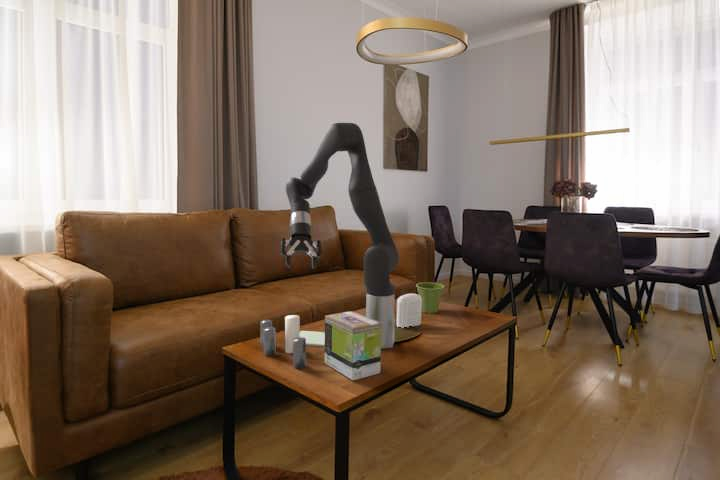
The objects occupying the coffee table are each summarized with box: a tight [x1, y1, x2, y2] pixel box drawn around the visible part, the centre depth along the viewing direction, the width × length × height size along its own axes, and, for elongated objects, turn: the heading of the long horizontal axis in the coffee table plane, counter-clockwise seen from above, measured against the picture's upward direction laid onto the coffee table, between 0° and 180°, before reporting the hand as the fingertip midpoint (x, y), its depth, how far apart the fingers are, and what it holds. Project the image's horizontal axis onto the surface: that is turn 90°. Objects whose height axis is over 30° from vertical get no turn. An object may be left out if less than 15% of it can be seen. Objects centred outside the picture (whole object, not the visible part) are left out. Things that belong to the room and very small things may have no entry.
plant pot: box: [415, 282, 445, 314], centre depth 184 cm, size 12×12×11 cm
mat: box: [300, 330, 325, 347], centre depth 149 cm, size 12×12×1 cm
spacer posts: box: [260, 319, 307, 370], centre depth 133 cm, size 28×18×8 cm, turn 79°
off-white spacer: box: [284, 314, 301, 355], centre depth 137 cm, size 4×4×11 cm
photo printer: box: [395, 293, 422, 329], centre depth 164 cm, size 10×4×12 cm, turn 123°
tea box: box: [324, 310, 382, 381], centre depth 124 cm, size 15×10×15 cm, turn 35°
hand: (301, 267), depth 152 cm, fingers open, 8 cm apart
